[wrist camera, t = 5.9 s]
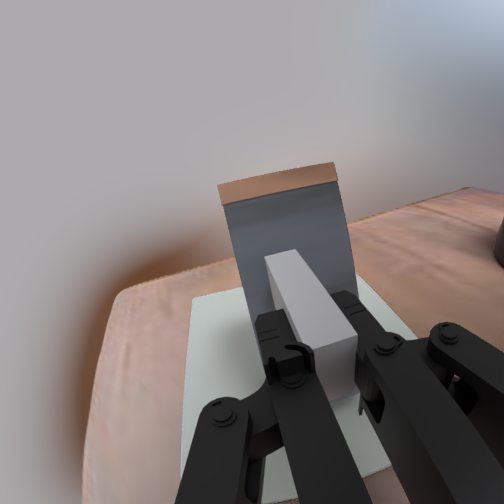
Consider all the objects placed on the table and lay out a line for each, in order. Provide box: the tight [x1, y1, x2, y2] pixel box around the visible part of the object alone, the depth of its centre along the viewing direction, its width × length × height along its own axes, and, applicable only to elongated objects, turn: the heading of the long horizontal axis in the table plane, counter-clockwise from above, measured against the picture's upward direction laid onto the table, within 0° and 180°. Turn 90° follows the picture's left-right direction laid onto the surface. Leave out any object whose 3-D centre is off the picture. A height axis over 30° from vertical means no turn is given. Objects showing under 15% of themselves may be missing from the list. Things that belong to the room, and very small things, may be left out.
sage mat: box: [180, 272, 418, 504], centre depth 23 cm, size 26×20×1 cm
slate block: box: [217, 162, 360, 403], centre depth 17 cm, size 6×6×14 cm
